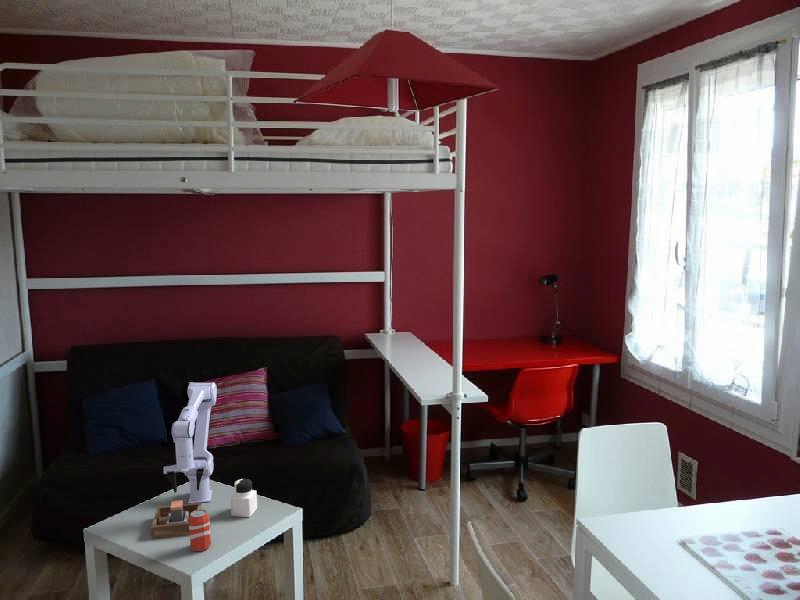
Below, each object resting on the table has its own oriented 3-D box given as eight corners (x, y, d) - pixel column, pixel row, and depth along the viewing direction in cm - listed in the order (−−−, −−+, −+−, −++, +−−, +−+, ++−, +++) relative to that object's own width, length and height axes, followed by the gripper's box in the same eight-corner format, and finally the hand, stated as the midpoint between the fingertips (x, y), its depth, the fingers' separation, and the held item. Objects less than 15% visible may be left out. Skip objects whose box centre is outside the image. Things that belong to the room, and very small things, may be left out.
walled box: (158, 517, 237) (157, 507, 236) (202, 513, 240) (201, 502, 239) (151, 538, 222) (151, 527, 222) (198, 533, 225) (197, 522, 225)
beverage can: (205, 540, 221) (203, 506, 219) (214, 547, 216) (212, 513, 214) (187, 547, 217) (185, 512, 215) (196, 554, 212) (194, 519, 210)
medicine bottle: (257, 508, 243) (256, 477, 241) (250, 517, 236) (248, 485, 234) (239, 507, 244) (237, 476, 242) (231, 516, 237) (229, 484, 235)
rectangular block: (173, 520, 233) (172, 501, 232) (183, 518, 234) (182, 500, 232) (171, 526, 228) (170, 507, 227) (182, 525, 229) (181, 506, 228)
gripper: (161, 460, 228) (163, 497, 230) (205, 456, 231) (207, 493, 233) (164, 452, 235) (166, 488, 237) (206, 448, 238) (208, 484, 240)
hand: (186, 490), depth 236 cm, fingers open, 7 cm apart
